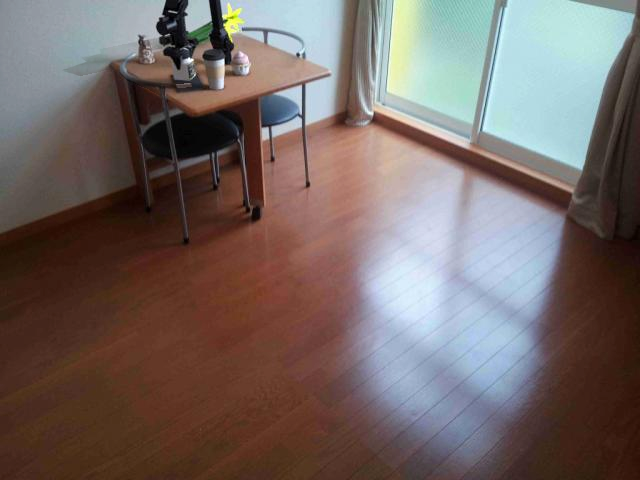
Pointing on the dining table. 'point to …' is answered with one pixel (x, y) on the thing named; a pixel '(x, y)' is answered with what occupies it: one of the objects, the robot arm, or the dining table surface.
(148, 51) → the figurine
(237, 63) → the cupcake
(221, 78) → the coffee cup
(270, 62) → the dining table surface
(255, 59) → the dining table surface
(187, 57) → the medicine bottle
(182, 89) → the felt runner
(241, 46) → the dining table surface
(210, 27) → the daffodil flowers
